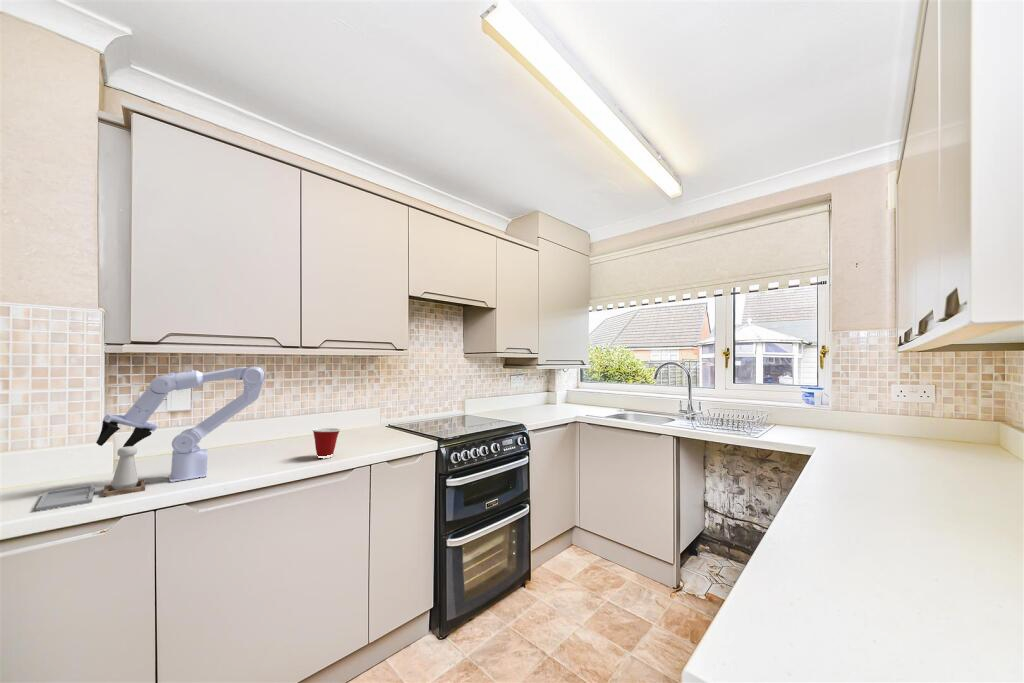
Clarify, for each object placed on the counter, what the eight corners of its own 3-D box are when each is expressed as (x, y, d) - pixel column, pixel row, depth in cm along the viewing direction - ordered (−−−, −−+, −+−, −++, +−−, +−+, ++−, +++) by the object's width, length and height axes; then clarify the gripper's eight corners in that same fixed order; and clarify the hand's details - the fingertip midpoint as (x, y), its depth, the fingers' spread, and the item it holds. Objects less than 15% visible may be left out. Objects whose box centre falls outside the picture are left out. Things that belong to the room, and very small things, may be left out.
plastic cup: (345, 455, 166) (346, 427, 167) (327, 461, 156) (328, 431, 156) (323, 453, 169) (324, 425, 169) (304, 459, 158) (306, 429, 159)
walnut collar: (143, 483, 125) (144, 479, 125) (144, 490, 119) (145, 486, 119) (104, 489, 119) (104, 485, 119) (103, 497, 113) (103, 493, 113)
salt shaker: (120, 494, 115) (123, 449, 116) (105, 492, 117) (108, 448, 117) (142, 487, 121) (145, 445, 122) (128, 486, 122) (131, 444, 123)
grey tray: (94, 487, 120) (95, 484, 120) (91, 502, 109) (92, 498, 109) (44, 495, 113) (44, 491, 113) (35, 511, 102) (35, 507, 102)
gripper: (159, 408, 135) (130, 444, 131) (113, 397, 122) (79, 436, 118) (170, 417, 133) (141, 454, 129) (124, 406, 120) (90, 446, 116)
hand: (112, 446), depth 123 cm, fingers open, 7 cm apart
